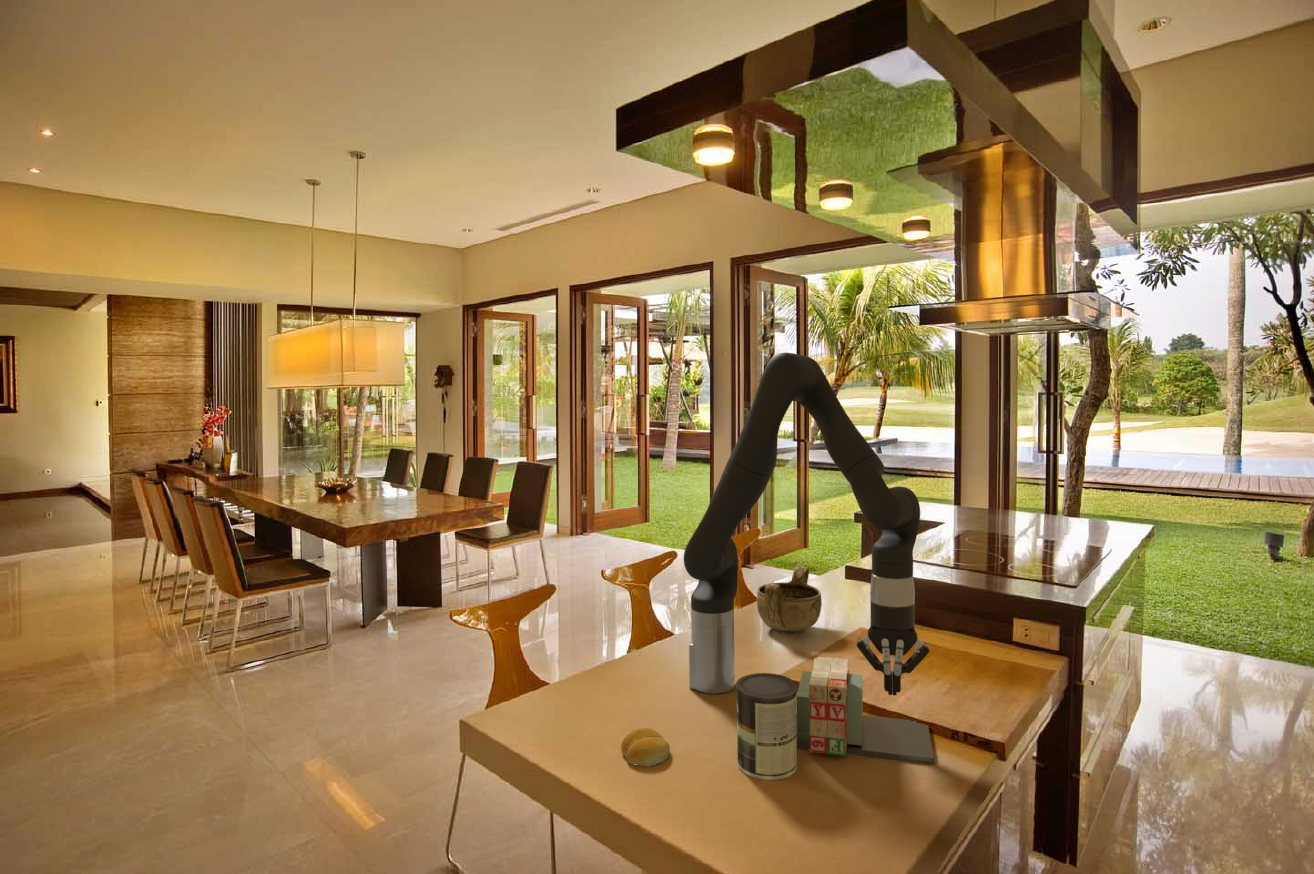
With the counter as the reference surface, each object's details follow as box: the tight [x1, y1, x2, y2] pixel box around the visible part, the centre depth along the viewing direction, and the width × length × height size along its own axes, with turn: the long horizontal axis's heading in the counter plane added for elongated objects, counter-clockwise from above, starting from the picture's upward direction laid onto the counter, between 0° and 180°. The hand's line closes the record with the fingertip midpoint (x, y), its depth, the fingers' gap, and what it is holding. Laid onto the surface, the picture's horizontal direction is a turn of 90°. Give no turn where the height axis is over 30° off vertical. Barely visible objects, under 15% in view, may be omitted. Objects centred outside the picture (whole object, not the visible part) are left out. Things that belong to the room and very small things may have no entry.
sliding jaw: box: [847, 673, 864, 746], centre depth 133 cm, size 2×12×8 cm, turn 164°
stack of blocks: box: [808, 656, 850, 757], centre depth 135 cm, size 21×6×12 cm, turn 163°
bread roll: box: [620, 727, 671, 766], centre depth 128 cm, size 8×9×4 cm
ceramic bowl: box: [756, 565, 823, 635], centre depth 191 cm, size 22×17×15 cm
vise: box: [796, 670, 935, 765], centre depth 133 cm, size 24×14×9 cm, turn 74°
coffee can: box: [735, 672, 798, 781], centre depth 123 cm, size 10×10×14 cm
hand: (892, 693), depth 130 cm, fingers closed
